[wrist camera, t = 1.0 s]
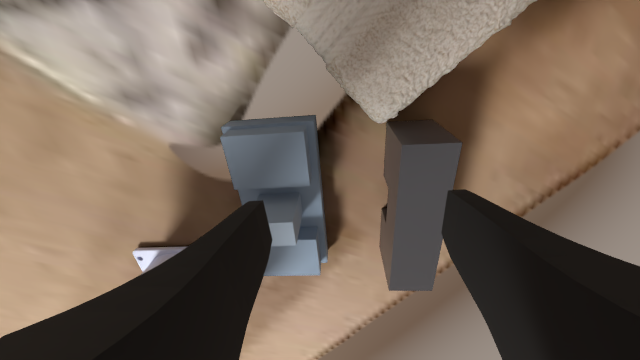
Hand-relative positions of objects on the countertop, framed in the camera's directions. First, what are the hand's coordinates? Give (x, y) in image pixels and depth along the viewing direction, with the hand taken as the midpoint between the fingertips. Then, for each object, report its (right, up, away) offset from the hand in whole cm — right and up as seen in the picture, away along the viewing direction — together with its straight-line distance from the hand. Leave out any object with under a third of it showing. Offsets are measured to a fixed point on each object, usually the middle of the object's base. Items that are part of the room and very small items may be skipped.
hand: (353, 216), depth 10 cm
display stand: (-4, 0, +10) cm, 11 cm away
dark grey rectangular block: (+5, +1, +9) cm, 11 cm away
